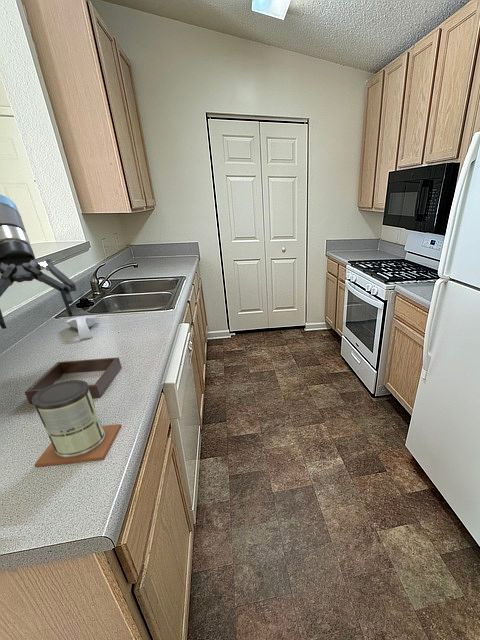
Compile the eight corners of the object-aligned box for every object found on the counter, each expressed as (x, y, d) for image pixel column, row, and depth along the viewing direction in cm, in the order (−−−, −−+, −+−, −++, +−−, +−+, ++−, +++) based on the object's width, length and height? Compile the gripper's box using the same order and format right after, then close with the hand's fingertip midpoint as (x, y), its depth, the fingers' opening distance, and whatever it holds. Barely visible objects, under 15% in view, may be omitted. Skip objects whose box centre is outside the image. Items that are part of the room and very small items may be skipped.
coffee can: (44, 449, 76) (20, 397, 70) (87, 424, 84) (69, 375, 78) (72, 463, 72) (49, 409, 65) (115, 435, 80) (98, 385, 74)
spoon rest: (68, 325, 152) (63, 310, 148) (97, 320, 158) (93, 306, 154) (70, 342, 134) (65, 325, 131) (103, 336, 140) (98, 319, 137)
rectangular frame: (29, 403, 94) (24, 391, 93) (62, 372, 111) (58, 361, 109) (100, 397, 97) (96, 385, 95) (121, 367, 114) (118, 357, 112)
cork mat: (35, 467, 72) (34, 464, 72) (62, 432, 83) (61, 429, 82) (103, 459, 74) (102, 456, 74) (121, 426, 84) (120, 423, 84)
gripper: (72, 253, 95) (96, 316, 91) (-46, 264, 82) (-24, 339, 78) (68, 235, 89) (93, 302, 85) (-60, 244, 76) (-37, 323, 72)
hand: (38, 319), depth 81 cm, fingers open, 13 cm apart
